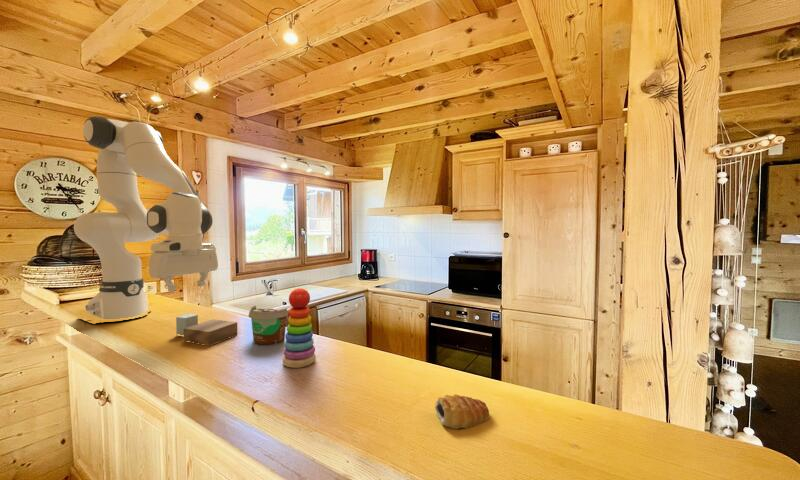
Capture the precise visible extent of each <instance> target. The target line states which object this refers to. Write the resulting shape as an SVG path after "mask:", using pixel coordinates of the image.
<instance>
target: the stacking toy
mask: <svg viewBox="0 0 800 480" xmlns="http://www.w3.org/2000/svg"><path fill="white" fill-rule="evenodd" d="M310 301H311V296H310V293H309V291H308V290H307V289H305V288H300V287H299V288H295V289H293V290H292V291H291V292H290V294H289V295H288V303H289V305H290V306H291V307H290V309H288V316H289V317H288V319H287V321H288V325H286V331H287V332H285V340H284V345H283V346H284V350H283V357H282V363H283V365H284V366H286V367H288V368H291V369H299V368H304V367H308V366H310V365H312V363H314V362H315V360H316V358H317V357H316V356H317V355H316V353H315V351H316V347H315V345H314V339H313V336H314V334H313V331H312V329H313V325H312V322H311V321H312V316H311V315H309V314H310V313H311V310H310V308H309V307H308V305H309V303H310Z"/></svg>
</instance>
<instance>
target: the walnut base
mask: <svg viewBox="0 0 800 480" xmlns="http://www.w3.org/2000/svg"><path fill="white" fill-rule="evenodd" d="M235 335H236V336H238V322H237V321H236V322H235V321H231V320H220V319H214V318H213V319H209V320H206V321H202V322H200V323H198V324H196V325H193V326H190V327H186V328H184V337H183V342H184V341H190V342H194V343H193V344H195V343H199V344H198V345H201V344H204V345H203V346H207V345H209V347H210V346H212V344H213V345H215V344H214V343H216V344H217V342H218V343H220V342H219V341H221V342H223V341H225V340H224V339H226V340H228V339H230V338H229V337H231V338H233V337H232V336H234V337H236V336H235ZM227 338H228V339H227ZM222 340H223V341H222Z"/></svg>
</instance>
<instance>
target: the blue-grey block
mask: <svg viewBox="0 0 800 480" xmlns="http://www.w3.org/2000/svg"><path fill="white" fill-rule="evenodd" d="M198 315H199V314H194V313H185V314H182V315H179V316H175V318H176V319H175V321H176V323H175V325H176V327H175V328H176V332H175V333H176V335H177V334H180V335H184V328H186V327H190V326H193V325H196V324H199V321H198V320H199V318H198Z"/></svg>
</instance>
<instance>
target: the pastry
mask: <svg viewBox="0 0 800 480" xmlns="http://www.w3.org/2000/svg"><path fill="white" fill-rule="evenodd" d="M434 405H435V407H434V408H435V411H436V416H437V418H438V419H439V420H440V422H441V424H442V425H443V426H445V427H447V428H449V429H454V430H459V428H463V429H467V428H470V427H474V426H477V425H480V424H482V423H484V422H486V421H487V420H488V419H489V417H490V410H489V408H488V406H487V404H486V402H484V401H482V400H481V399H477V398H473V397H469V396H465V395H459V394H457V393H456V394H453V395H449V394H445V395H444V397H441V396H440V397H438V398H437V401H436V402H435V404H434Z"/></svg>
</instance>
